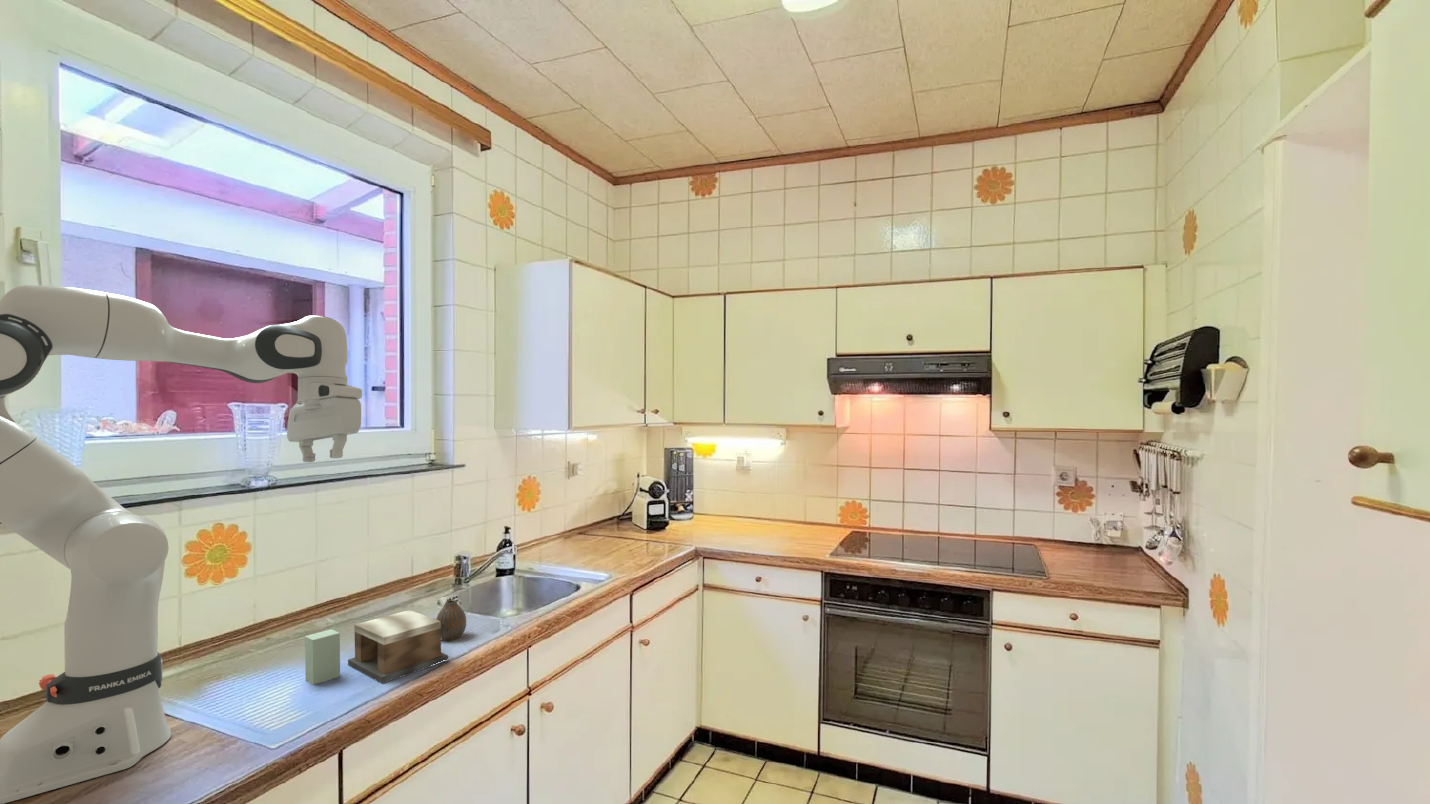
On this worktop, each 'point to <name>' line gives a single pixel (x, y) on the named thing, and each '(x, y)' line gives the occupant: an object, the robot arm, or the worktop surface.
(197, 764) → the worktop surface
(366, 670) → the bridge
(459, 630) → the vase
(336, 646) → the block
